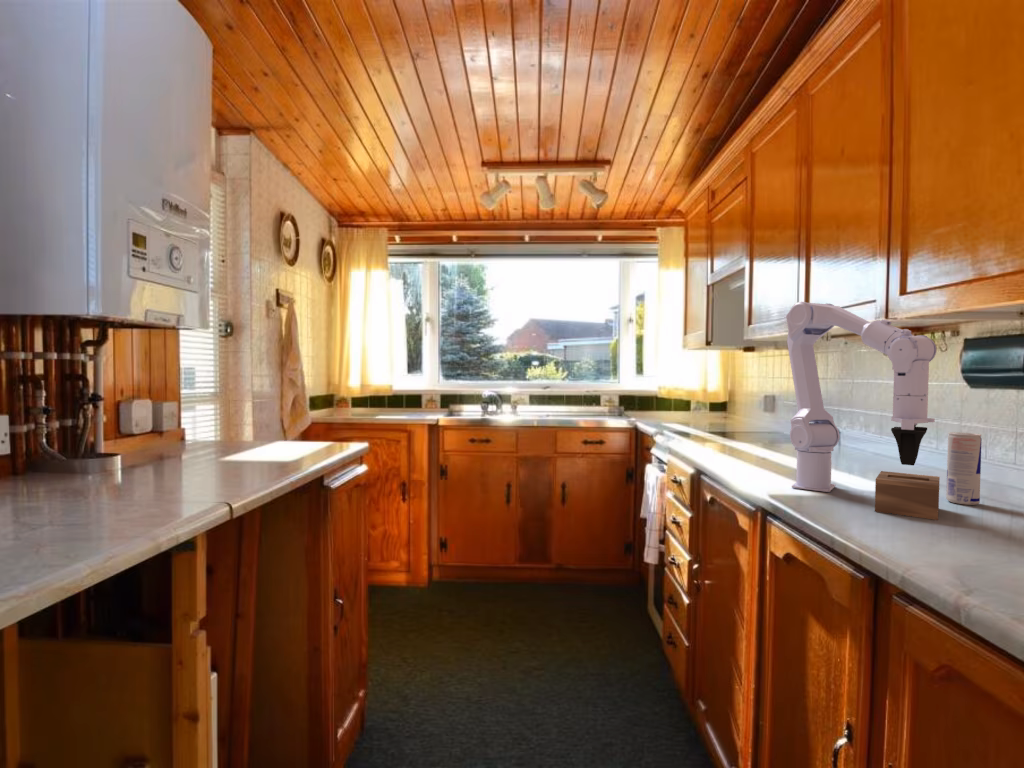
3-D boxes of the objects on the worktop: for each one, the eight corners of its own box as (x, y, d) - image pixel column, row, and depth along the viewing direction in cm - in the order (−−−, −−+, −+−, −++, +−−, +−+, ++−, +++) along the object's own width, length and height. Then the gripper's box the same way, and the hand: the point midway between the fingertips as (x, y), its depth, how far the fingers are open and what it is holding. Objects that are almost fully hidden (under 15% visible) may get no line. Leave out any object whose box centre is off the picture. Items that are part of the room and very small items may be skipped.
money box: (880, 501, 122) (881, 470, 122) (938, 508, 116) (939, 476, 116) (874, 511, 113) (875, 478, 113) (937, 520, 107) (938, 485, 107)
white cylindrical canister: (985, 506, 118) (987, 434, 118) (955, 505, 120) (957, 433, 119) (969, 500, 124) (972, 432, 124) (940, 499, 125) (942, 431, 125)
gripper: (934, 397, 106) (932, 470, 106) (935, 395, 117) (934, 461, 118) (889, 396, 110) (887, 466, 110) (894, 394, 122) (893, 457, 122)
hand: (908, 463), depth 114 cm, fingers open, 4 cm apart
